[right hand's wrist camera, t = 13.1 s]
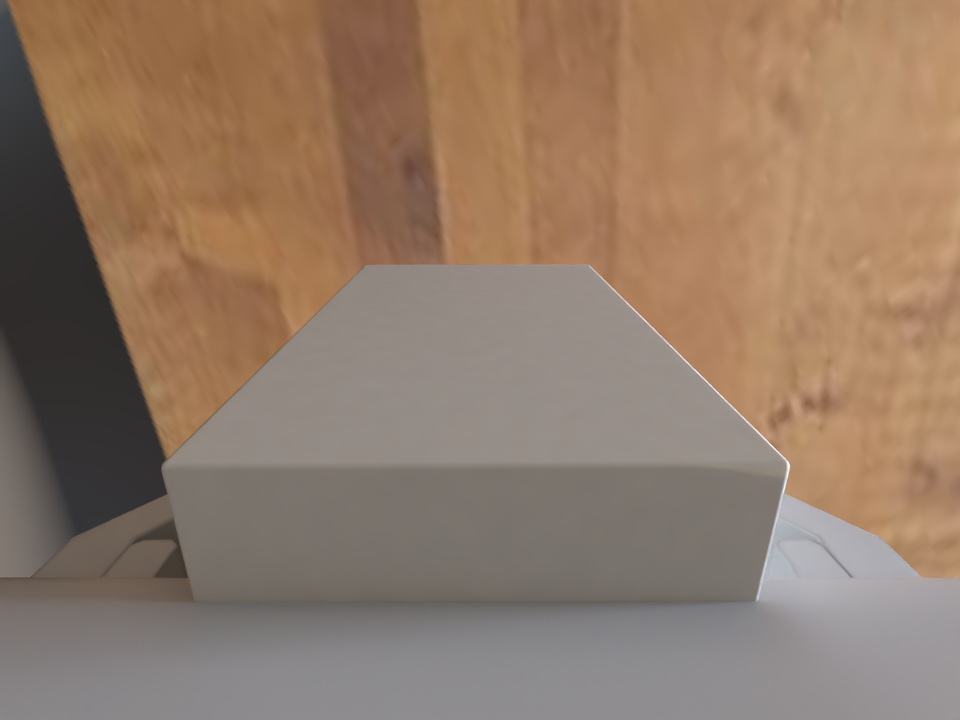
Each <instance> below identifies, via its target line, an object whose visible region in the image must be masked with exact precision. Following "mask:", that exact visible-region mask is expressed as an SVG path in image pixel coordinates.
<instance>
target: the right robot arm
mask: <svg viewBox="0 0 960 720" xmlns="http://www.w3.org/2000/svg"><path fill="white" fill-rule="evenodd" d="M0 720H960V578H922V577H921V576H920V575H919V574H918V573H917V572H916V571H915V570H914V569H913V568H912V567H911V566H909V565H908V564H907V563H906V562H905V561H904V560H903V559H902V558H901V557H900V556H899V555H898V554H897V553H896V552H895V551H894V550H893V549H892V548H891V547H890V546H889V545H888V544H887V543H886V542H885V541H883V540H882V539H881V538H880V537H877V536H875V535H873V534H871V533H869V532H867V531H864V530H862V529H860V528H858V527H856V526H854V525H852V524H849V523H847V522H845V521H843V520H841V519H839V518H836V517H834V516H832V515H830V514H828V513H826V512H823V511H821V510H819V509H817V508H815V507H813V506H811V505H808V504H806V503H804V502H802V501H800V500H798V499H795V498H793V497H791V496H789V495H787V494H785V493H784V494H783V498H782V502H781V507H780V511H779V515H778V519H777V523H776V527H775V532H774V536H773V540H772V544H771V548H770V553H769V557H768V561H767V565H766V569H765V573H764V578H763V582H762V586H761V590H760V594H759V599H758V600H756V601H476V602H196V601H194V599H193V595H192V591H191V587H190V583H189V579H188V575H187V571H186V567H185V563H184V558H183V554H182V550H181V546H180V542H179V538H178V534H177V530H176V526H175V522H174V518H173V514H172V510H171V506H170V502H169V498H168V494H167V495H165V496H162V497H160V498H158V499H156V500H154V501H151V502H149V503H147V504H145V505H143V506H141V507H138V508H136V509H134V510H132V511H130V512H127V513H125V514H123V515H121V516H119V517H117V518H114V519H112V520H110V521H108V522H106V523H103V524H101V525H99V526H97V527H95V528H92V529H90V530H88V531H86V532H84V533H82V534H79V535H77V536H75V537H73V538H72V539H71V540H70V541H69V542H68V543H66V544H65V545H64V546H63V547H62V548H61V549H60V550H59V551H58V552H57V553H56V554H55V555H54V556H53V557H52V558H51V559H49V560H48V561H47V562H46V563H45V564H44V565H43V566H42V567H41V568H40V569H39V570H38V571H37V572H36V573H35V574H34V575H32V576H31V577H30V578H0Z"/></svg>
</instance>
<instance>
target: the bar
mask: <svg viewBox="0 0 960 720" xmlns="http://www.w3.org/2000/svg"><path fill="white" fill-rule="evenodd" d="M789 469H790V467H789V463H788V461H787V460H786V459H785V458H784V457H783V456H782V455H781V454H780V453H779V452H778V451H777V450H776V449H775V448H774V447H773V446H772V445H771V444H770V443H769V442H768V441H767V440H766V439H765V438H764V437H763V436H762V435H761V434H760V433H759V432H758V431H757V430H756V429H755V428H754V427H753V426H752V425H751V424H750V423H749V422H748V421H747V420H746V419H744V418H743V417H742V416H741V415H740V414H739V413H738V412H737V411H736V410H735V409H734V408H733V407H732V406H731V405H730V404H729V403H728V402H727V401H726V400H725V399H724V398H723V397H722V396H721V395H720V394H719V393H718V392H717V391H716V390H715V389H714V388H713V387H712V386H711V385H710V384H709V383H708V382H707V381H706V380H705V379H704V378H703V377H702V376H701V375H700V374H699V373H698V372H697V371H696V370H695V369H694V368H693V367H692V366H691V365H690V364H689V363H688V362H687V361H686V360H685V359H684V358H683V357H682V356H681V355H680V354H679V353H678V352H677V351H676V350H675V349H674V348H673V347H672V346H670V345H669V344H668V343H667V342H666V341H665V340H664V339H663V338H662V337H661V336H660V335H659V334H658V333H657V332H656V331H655V330H654V329H653V328H652V327H651V326H650V325H649V324H648V323H647V322H646V321H645V320H644V319H643V318H642V317H641V316H640V315H639V314H638V313H637V312H636V311H635V310H634V309H633V308H632V307H631V306H630V305H629V304H628V303H627V302H626V301H625V300H624V299H623V298H622V297H621V296H620V295H619V294H618V293H617V292H616V291H615V290H614V289H613V288H612V287H611V286H610V285H609V284H608V283H607V282H606V281H605V280H604V279H603V278H602V277H601V276H600V275H599V274H598V273H597V272H595V271H594V270H593V269H592V268H591V267H590V266H589V265H366V266H364V267H363V268H362V269H361V270H360V271H359V272H358V273H357V274H356V275H355V276H354V277H353V278H352V279H351V280H350V281H349V282H348V283H347V284H346V285H345V286H344V287H343V288H342V289H341V290H340V291H339V292H338V293H337V294H336V295H335V296H334V297H333V298H332V299H331V300H330V301H328V302H327V303H326V304H325V305H324V306H323V307H322V308H321V309H320V310H319V311H318V312H317V313H316V314H315V315H314V316H313V317H312V318H311V319H310V320H309V321H308V322H307V323H306V324H305V325H304V326H303V327H302V328H301V329H300V330H299V331H298V332H297V333H296V334H295V335H294V336H293V337H292V338H291V339H290V340H289V341H288V342H287V343H286V344H285V345H283V346H282V347H281V348H280V349H279V350H278V351H277V352H276V353H275V354H274V355H273V356H272V357H271V358H270V359H269V360H268V361H267V362H266V363H265V364H264V365H263V366H262V367H261V368H260V369H259V370H258V371H257V372H256V373H255V374H254V375H253V376H252V377H251V378H250V379H249V380H248V381H247V382H246V383H245V384H244V385H243V386H242V387H241V388H240V389H238V390H237V391H236V392H235V393H234V394H233V395H232V396H231V397H230V398H229V399H228V400H227V401H226V402H225V403H224V404H223V405H222V406H221V407H220V408H219V409H218V410H217V411H216V412H215V413H214V414H213V415H212V416H211V417H210V418H209V419H208V420H207V421H206V422H205V423H204V424H203V425H202V426H201V427H200V428H199V429H198V430H197V431H196V432H195V433H193V434H192V435H191V436H190V437H189V438H188V439H187V440H186V441H185V442H184V443H183V444H182V445H181V446H180V447H179V448H178V449H177V450H176V451H175V452H174V453H173V454H172V455H171V456H170V457H169V458H168V459H167V460H166V461H165V462H164V463H163V465H162V474H163V478H164V482H165V486H166V490H167V494H168V498H169V502H170V506H171V510H172V514H173V518H174V522H175V526H176V530H177V534H178V538H179V542H180V546H181V550H182V554H183V558H184V563H185V567H186V571H187V575H188V579H189V583H190V587H191V591H192V595H193V599H194V601H196V602H476V601H756V600H758V599H759V594H760V590H761V586H762V582H763V578H764V573H765V569H766V565H767V561H768V557H769V553H770V548H771V544H772V540H773V536H774V532H775V527H776V523H777V519H778V515H779V511H780V507H781V502H782V498H783V494H784V490H785V486H786V481H787V477H788V473H789Z"/></svg>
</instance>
